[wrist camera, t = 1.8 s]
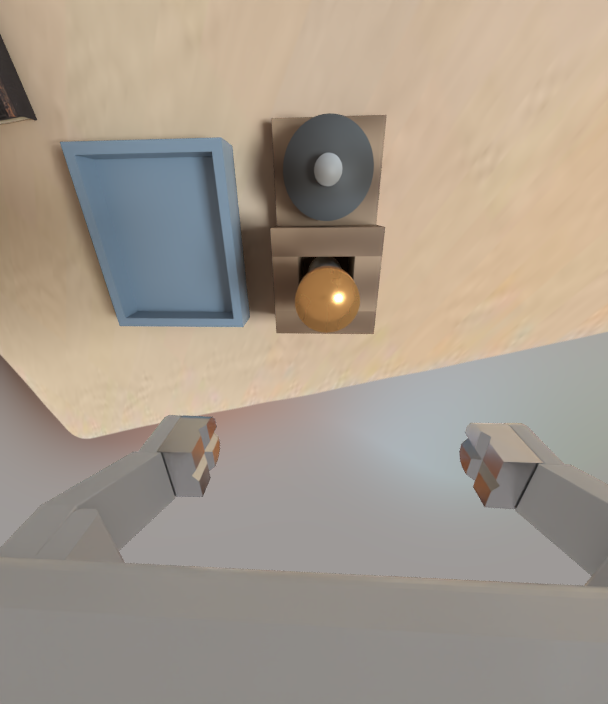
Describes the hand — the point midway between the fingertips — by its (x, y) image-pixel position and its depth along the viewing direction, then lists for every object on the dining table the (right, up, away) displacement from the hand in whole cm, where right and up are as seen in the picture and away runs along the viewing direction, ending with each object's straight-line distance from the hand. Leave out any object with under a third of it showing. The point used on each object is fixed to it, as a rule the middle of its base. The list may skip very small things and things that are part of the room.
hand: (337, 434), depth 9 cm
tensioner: (+1, +16, +22) cm, 27 cm away
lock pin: (+1, +12, +24) cm, 27 cm away
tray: (-16, +15, +23) cm, 32 cm away
